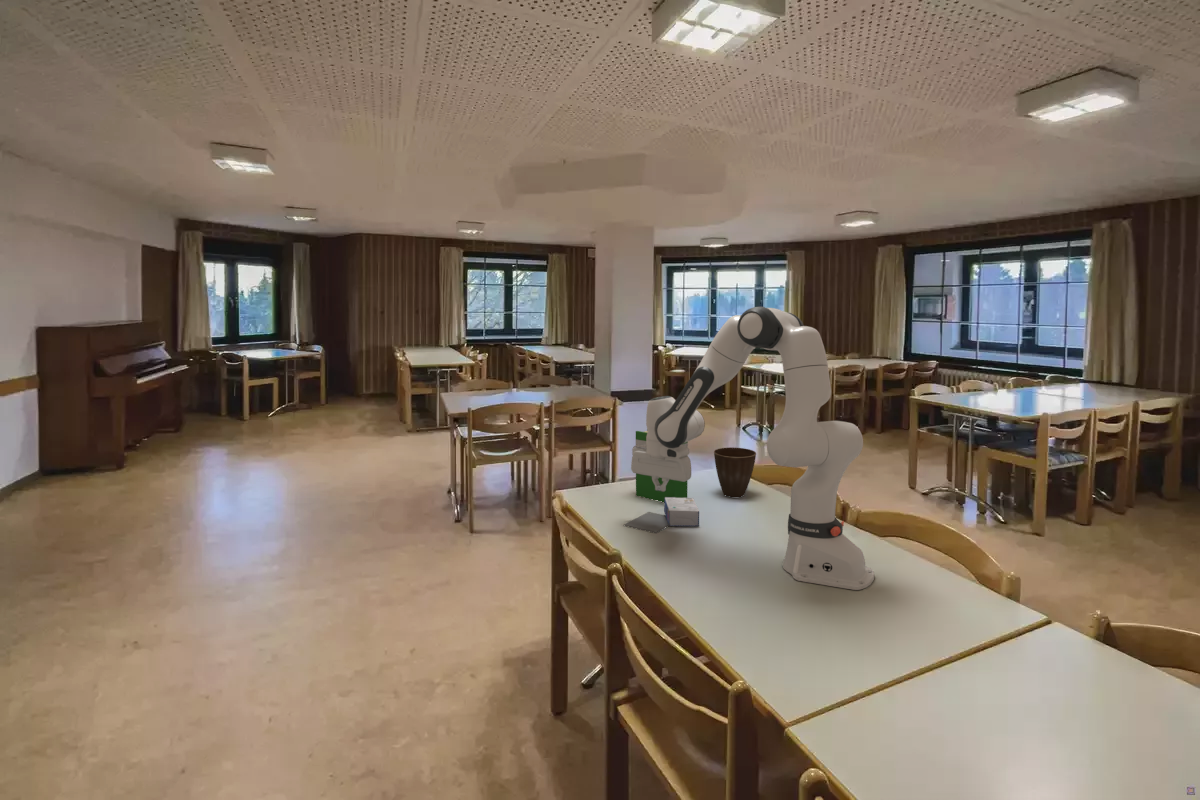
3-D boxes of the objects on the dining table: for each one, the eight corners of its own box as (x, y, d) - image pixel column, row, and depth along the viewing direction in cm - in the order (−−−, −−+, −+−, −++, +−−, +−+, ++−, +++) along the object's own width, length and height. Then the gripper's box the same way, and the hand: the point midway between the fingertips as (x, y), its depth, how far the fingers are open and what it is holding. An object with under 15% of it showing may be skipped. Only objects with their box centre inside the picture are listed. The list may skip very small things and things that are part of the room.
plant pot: (760, 492, 236) (761, 450, 233) (746, 503, 223) (747, 458, 221) (722, 486, 243) (722, 445, 241) (706, 497, 231) (707, 453, 229)
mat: (680, 519, 208) (680, 518, 207) (656, 533, 196) (656, 532, 196) (648, 512, 215) (648, 511, 215) (623, 525, 203) (623, 524, 203)
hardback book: (635, 495, 234) (635, 431, 230) (648, 491, 239) (648, 428, 236) (674, 505, 222) (674, 437, 218) (687, 500, 227) (687, 434, 224)
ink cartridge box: (699, 527, 201) (692, 509, 215) (700, 511, 200) (693, 494, 214) (667, 527, 201) (662, 508, 215) (668, 510, 200) (663, 493, 214)
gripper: (627, 445, 203) (627, 487, 205) (684, 453, 191) (683, 498, 193) (637, 441, 208) (638, 483, 210) (694, 449, 196) (693, 493, 198)
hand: (660, 490), depth 202 cm, fingers closed
